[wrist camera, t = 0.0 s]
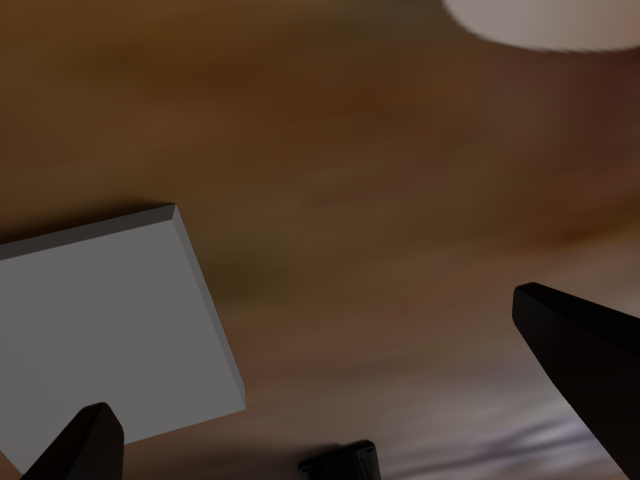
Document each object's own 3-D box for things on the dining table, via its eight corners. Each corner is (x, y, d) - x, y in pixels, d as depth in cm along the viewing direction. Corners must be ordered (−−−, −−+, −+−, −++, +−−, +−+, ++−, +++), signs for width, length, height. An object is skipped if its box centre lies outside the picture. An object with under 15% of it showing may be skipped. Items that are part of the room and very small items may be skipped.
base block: (244, 385, 29) (245, 409, 27) (34, 445, 27) (21, 474, 26) (176, 203, 22) (172, 219, 20) (-110, 270, 20) (-141, 294, 19)
